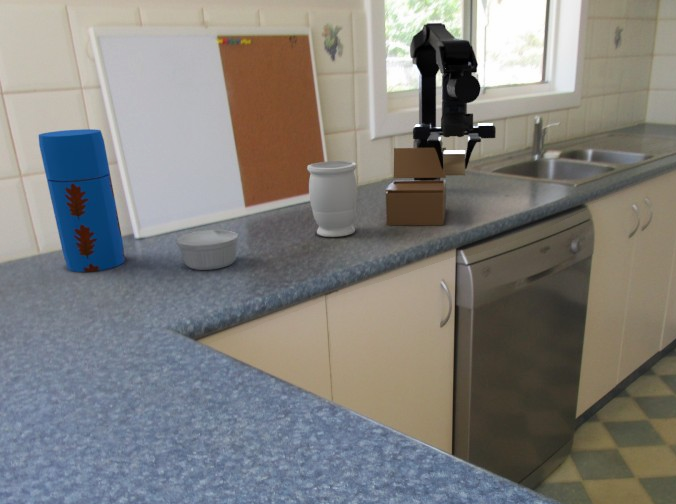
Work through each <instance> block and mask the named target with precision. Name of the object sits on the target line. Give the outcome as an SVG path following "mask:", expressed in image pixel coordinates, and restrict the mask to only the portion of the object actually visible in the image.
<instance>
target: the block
mask: <svg viewBox="0 0 676 504" xmlns="http://www.w3.org/2000/svg"><path fill="white" fill-rule="evenodd" d="M465 157H466V149H465V150H464V149H459V150H458V149H457V150H456V149H455V150H446V151H444V153H443V175H444V176H446V177H447V176H449V177H450V176H451V177H452V176H466V169H465Z"/></svg>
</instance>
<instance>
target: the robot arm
mask: <svg viewBox="0 0 676 504" xmlns="http://www.w3.org/2000/svg"><path fill="white" fill-rule="evenodd" d="M409 54H410V59H411V61H412V66H413V68H414V69H415V71H416V72H417V74H418V123H417V124H415V126H414V127H413V128H412V140H413V146H412V148H435V150H436V152H437V155H438V158H439V161H440V164H441V167H442V169H443V150H442V148H444V147H443V141H442V137H444V138H450V137H457V138H462V137H464V136H468V137H467V143H466V149H465V170H467V168H468V166H469V163H470V159H471V156H472V154H473V150H474V148H475V146H476V144H477V143H481V142H482V139H496V135H497V134H496V131H497V130H496V125H495V124H494V123H493V122H478V123H477V126H474V113H468V104H469V103H473V102H474V101H476V100H477V99H478V98H479V96H480V94H481V89H482V88H481V84H480V81H479V79H478V78H477V77H476V76H474V75H473V74H474V73H477V72H478V66H479V63H478V61H477V56H476V54H475V50H474V48H473V45H471V42H470V41H469V40H468V39H465V38H456V37H455V36H454V35H452V33H451V32H450V31H449V30H448V29H447V28H446V24H444V23H442V22H432V23H431V22H430V23H429V22H428V23H426V24H423V27H422V29H421V30H420V31H418V32H417V33H416V34H414V35H413V37H412V39H411V42H410V45H409ZM438 72H440V74H441V117H440V127H439V126H437V74H438ZM416 180H441V178H413V181H416Z"/></svg>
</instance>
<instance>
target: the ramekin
mask: <svg viewBox="0 0 676 504" xmlns="http://www.w3.org/2000/svg"><path fill="white" fill-rule="evenodd" d="M238 242H239V235H238V233H237V232H234V231H231V230H227V229H206V230H198V231H193V232H189V233H186V234H183V235H181V236H179V237H178V238H177V239H176V245H177V247H178V248H179V252H180V254H181V257H182V260H183V263H184V264H185V266H187V267H188V268H189V269H191V270H195V271H212V270H219V269H222V268H223V269H224V268H226V267H229V266H231V265H233V264H234V262H235V261H236V260H237V256H238V255H237V253H238Z"/></svg>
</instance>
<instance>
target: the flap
mask: <svg viewBox="0 0 676 504" xmlns="http://www.w3.org/2000/svg"><path fill="white" fill-rule="evenodd" d="M442 150H443V153H444V151H447V147H443V148H442ZM414 178H440V179H446V178H447V176H444V175H443V169H442V167H441V164H440V161H439V158H438V155H437V152H436V150H435V148H413V147H394V148H393V179H414Z"/></svg>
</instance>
